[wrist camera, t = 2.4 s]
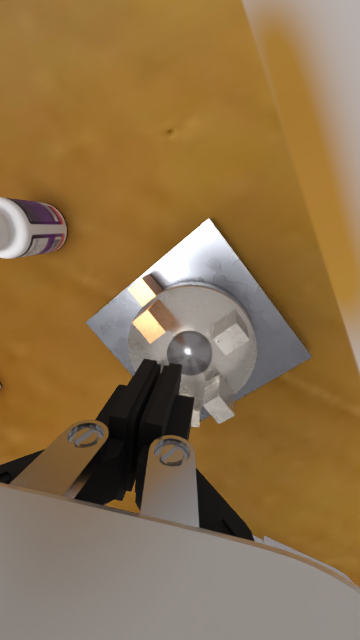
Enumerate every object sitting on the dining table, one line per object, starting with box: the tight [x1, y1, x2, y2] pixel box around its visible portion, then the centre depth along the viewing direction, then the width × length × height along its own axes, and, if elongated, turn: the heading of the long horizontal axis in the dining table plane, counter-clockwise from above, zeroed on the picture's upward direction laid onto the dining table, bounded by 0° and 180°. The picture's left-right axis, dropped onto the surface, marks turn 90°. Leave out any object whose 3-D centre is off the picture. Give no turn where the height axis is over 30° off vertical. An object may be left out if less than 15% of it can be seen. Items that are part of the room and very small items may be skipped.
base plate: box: [86, 219, 312, 427], centre depth 31 cm, size 18×18×6 cm
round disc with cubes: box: [128, 273, 257, 424], centre depth 28 cm, size 15×13×7 cm
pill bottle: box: [0, 197, 67, 259], centre depth 28 cm, size 5×5×10 cm
